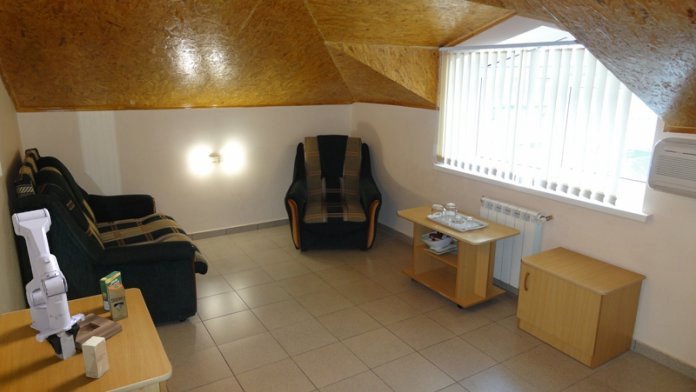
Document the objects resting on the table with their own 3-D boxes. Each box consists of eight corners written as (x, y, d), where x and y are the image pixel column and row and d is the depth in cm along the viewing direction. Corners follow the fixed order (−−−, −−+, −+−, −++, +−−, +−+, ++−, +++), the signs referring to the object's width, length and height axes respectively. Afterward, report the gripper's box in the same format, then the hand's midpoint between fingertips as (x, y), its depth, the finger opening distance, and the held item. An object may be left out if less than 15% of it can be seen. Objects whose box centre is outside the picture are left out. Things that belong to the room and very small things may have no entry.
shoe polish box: (110, 315, 178) (106, 286, 175) (125, 311, 181) (121, 282, 178) (113, 321, 174) (109, 291, 171) (128, 317, 177) (124, 287, 174)
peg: (56, 356, 154) (52, 337, 152) (68, 349, 158) (64, 331, 156) (64, 360, 152) (60, 340, 150) (76, 353, 156) (72, 334, 154)
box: (98, 379, 144) (93, 347, 141) (85, 377, 145) (80, 345, 142) (110, 368, 149) (105, 337, 146) (97, 366, 150) (92, 335, 146)
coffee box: (109, 312, 180) (105, 280, 177) (103, 310, 181) (98, 279, 177) (125, 301, 188) (121, 271, 184) (119, 300, 189) (114, 270, 185)
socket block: (55, 338, 164) (54, 332, 163) (92, 319, 176) (91, 313, 175) (85, 351, 157) (84, 345, 156) (122, 330, 169) (121, 324, 168)
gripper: (43, 326, 143) (50, 365, 147) (87, 305, 155) (93, 341, 159) (28, 320, 146) (36, 359, 150) (74, 299, 158) (80, 335, 162)
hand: (65, 349), depth 154 cm, fingers closed on peg, 4 cm apart
